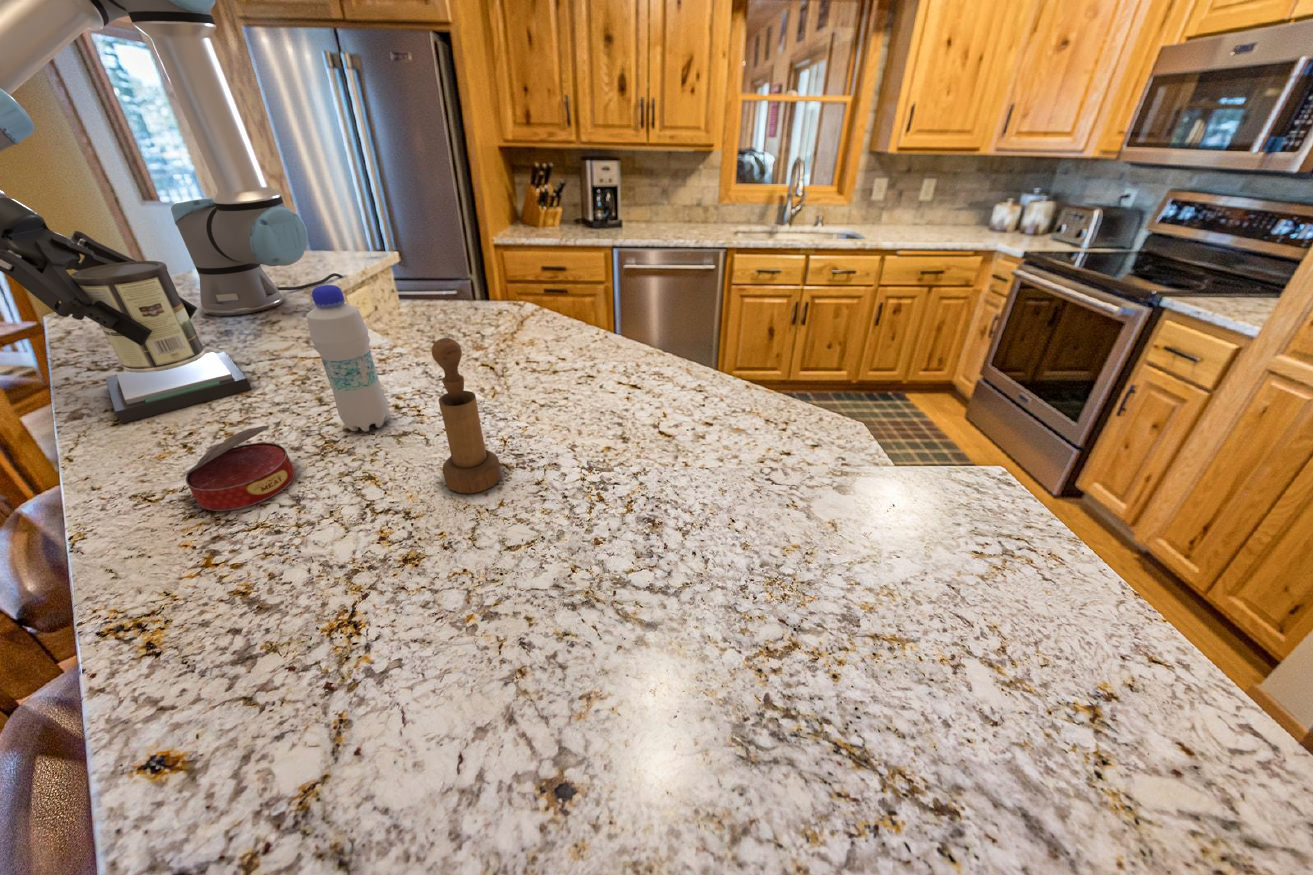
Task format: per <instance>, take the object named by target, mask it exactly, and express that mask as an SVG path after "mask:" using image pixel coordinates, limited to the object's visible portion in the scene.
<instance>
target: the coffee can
mask: <svg viewBox="0 0 1313 875" xmlns="http://www.w3.org/2000/svg"><path fill="white" fill-rule="evenodd" d="M70 276H71V277H72V279H73V280H74V281H75V282H76V283H77V284H78V285H79V286H80V287H81V289H82V290H83V291H84V292H85V293H86V294H87V296H88V297H89V298H90V299H91V300H92V304H93V305H94V304H95V302H96V301H99V300H101V301H102V302H104V303H106V304H107V305H109V306H111V307H113V308H114V309H116V310H118V311H119V312H121V313H123V314H125V315H126V316H128V317H130V318H131V319H133V320H135V321H137V322H138V323H140V324H142V325H144V326H145V327H147V328H149V329H150V330H152V332H151V334H150V335H149V337H148V339H147V340H146V342H145V344H143V345H141V346H140V345H139V344H137V343H135V342H133V341H132V340H130V339H128V338H126V337H125V336H123V335H121V334H119V333H117V332H116V331H114V330H112V329H108V328H105V327H104V326H102V325H101V324H98V325H99V327H100V328H101V330H102V332H103V334H104V335H105V337H106V339H107V340H108V343H109V344H110V346H111V347H112V349H113V351H114V353H115V355H116V356H117V359H118V360H119V362H120V364H121V366H122V369H123V370H124V372H126V371H128V372H135V373H145V372H155V371H163V370H168V369H172V368H176V367H180V366H183V365H186V364H189V363H192V362H194V361H196V360H198V359H200V358H202V357H203V356H204V355H205V354H207V353H206V349H205V348H204V346H203V344H202V342H201V339H200V337H199V336H198V333H197V332H196V329H195V327H194V325H193V323H192V321H191V319H190V318H189V316H188V314H187V312H186V310H185V308H184V306H183V303H182V301H181V299H180V297H181V296H180V295H179V292H178V290H177V288H176V285H175V283H174V282H173V280H172V277H171V276H170V273H169V270H168V266H167V264H166V262H163V261H158V260H135V261H132V262H121V263H113V264H106V265H101V266H96V267H90V268H86V269H83V270H79V271H77V270H76V271H74V272H72V273H71V274H70Z"/></svg>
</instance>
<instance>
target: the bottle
mask: <svg viewBox="0 0 1313 875" xmlns="http://www.w3.org/2000/svg"><path fill="white" fill-rule="evenodd" d="M311 297H312V300H313V303H314V306H315V307H314V308H313V309H311V310H310V311H309V312H307V314H306V321H307V324H308V325H307V326H308V330H309V337H310V341H311V342H312V344H313V348H314V351H316V352H317V353H318V354H319V357H320V359H321V362H322V364H323V367H324V370H325V373H326V376H327V379H328V383H329V384H330V388H331V391H332V394H333V398H334V402H335V406H336V410H337V413H338V417H339V419H340V420H341V422H342V423H343V424H344V425H345V426H346V428H347V429H348V430H350V431H352V432H358V431H359V428H360V429H361V431H362V432H369V431H370V426H371V425H373V424H374V427H375V428H377V429H379V428H381V427H382V426H383V425H384V423H386V422H387V421H388V420H389V418H390V408H389V404H388V401H387V397H386V395H385V393H384V390H383V388H382V385H381V382H380V380H379V379H380V378H379V376H378V372H377V369H376V366H375V361H374V358H373V354H372V351H371V348H370V342H371V338H370V337H369V329H368V327H367V325H366V323H365V321H364V319H363V317H362V314H361V312H360V310H359V309H358V307H357V306H354V305H352V304H349V303H345V302H346V300H345V296H344V293H343V291H342V289H341V288H340V287H339V286H337V285H334V284H324V285H319V286H315V288H313V289H312V291H311Z"/></svg>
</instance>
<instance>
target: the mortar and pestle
mask: <svg viewBox="0 0 1313 875" xmlns="http://www.w3.org/2000/svg"><path fill="white" fill-rule="evenodd" d="M462 351H463V350H462V348H461V346H460V344H459V343H458V342H457V340H456V339H454V338H450V337H443V338H439V339H437V340H436V341H435V342H433V344H432V346H431V356H432V358H433V360H434V361H435V362H436V363H437V365H438V366H439V367H440V368H441V369H442V370H443V372H444V377H443V378H442V379H441V382H442V385H443V387H444V388H445V390H446V392H447V393H445V394H442V395H441V396H440V397H439V398H438V405H439V409H440V412H441V417H442V420H443V425H444V429H445V433H446V437H447V443H448V447H449V451H450V456H449V457H448V458H447V459H446V460H445V461H444V463H443V465H442V474H443V478H444V483H445V485H446V487H447V488H448V489H449V490H451V491H452V492H455V493H459V494H475V493H480V492H484V491H486V490H489V489H490V488H492V487H494V486H495V485H496V484H497V483H498V482H499V481H500V480H501V477H502V470H501V467H500V466H501V465H500V462H499V458H498V455H496V454H495V453H494V452H493V451H491V450H488V449H487V448H486V446H485V440H484V435H483V431H482V424H481V419H480V412H479V407H478V403H477V398H476V397H477V396H476V394H475V392H473V391H470V390H464V389H465V377H464V376H463V375H462V374H460V373H459V364H460V363H461V359H462V356H463V352H462Z"/></svg>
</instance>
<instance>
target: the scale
mask: <svg viewBox="0 0 1313 875" xmlns="http://www.w3.org/2000/svg"><path fill="white" fill-rule="evenodd" d="M104 379H105V383H106V386H107V390H108V393H109V397H110V399H111V403H112V407H113V410H114V413H115V415H116V416H117V418H118V419H119V421H120V423H121V424H122V425H124V424H127V423H131V422H135V421H138V420H142V419H146V418H150V417H153V416H157V415H161V414H165V413H169V412H172V411H176V410H180V409H184V408H187V407H190V406H194V405H199V404H202V403H206V402H209V401H213V400H217V399H222V398H225V397H229V396H233V395H236V394H239V393H244V392H247V391H251V390H252V387H251V384H250V382H249V380H248V378H247V376H246V375H245V373H243V372H242V371H241V369H240V368H239V367H238V366H237V364H236V363H235V362H234V361H233V360H232V358H231V357H230V356H229V354H228V353H227V352H226V351H220V352H215V351H211V352H208V353H205V355H204V356H203V357H202V358H200V359H198V360H196V361H194V362H192V363H189V364H186V365H183V366H180V367H176V368H172V369H168V370H163V371H155V372H145V373H135V372H128V371H121V372H116V373H115V375H113V376H108V377H105V378H104Z"/></svg>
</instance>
